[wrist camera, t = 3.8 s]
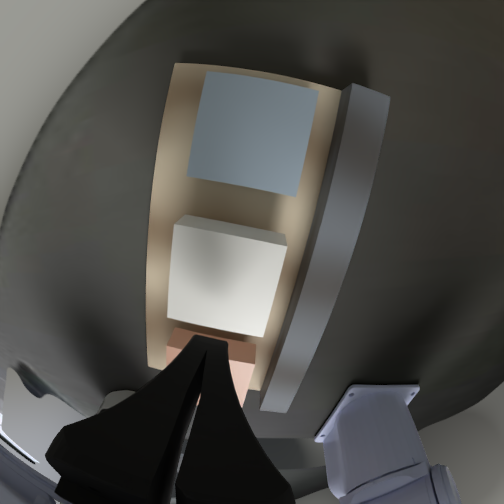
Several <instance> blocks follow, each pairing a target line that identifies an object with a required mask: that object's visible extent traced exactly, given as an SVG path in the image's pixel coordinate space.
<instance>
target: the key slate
mask: <svg viewBox="0 0 504 504" xmlns="http://www.w3.org/2000/svg"><path fill="white" fill-rule="evenodd" d="M318 93H319V91H317V90H313V89H309V88H305V87H301V86H297V85H292V84H288V83H283V82H278V81H273V80H268V79H263V78H257V77H251V76H244V75H237V74H229V73H220V72H210V71H207V73H206V77H205V81H204V86H203V90H202V94H201V99H200V104H199V109H198V113H197V118H196V124H195V129H194V134H193V140H192V145H191V151H190V157H189V163H188V169H187V176H188V177H194V178H200V179H206V180H212V181H218V182H223V183H229V184H234V185H239V186H245V187H250V188H255V189H260V190H265V191H270V192H274V193H279V194H284V195H288V196H293V197H296V195H297V191H298V186H299V182H300V178H301V173H302V169H303V164H304V160H305V155H306V151H307V146H308V142H309V137H310V132H311V128H312V123H313V118H314V113H315V108H316V103H317V98H318Z"/></svg>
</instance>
